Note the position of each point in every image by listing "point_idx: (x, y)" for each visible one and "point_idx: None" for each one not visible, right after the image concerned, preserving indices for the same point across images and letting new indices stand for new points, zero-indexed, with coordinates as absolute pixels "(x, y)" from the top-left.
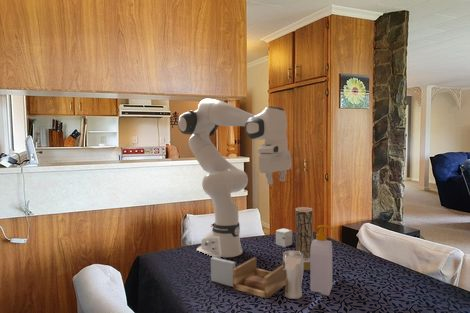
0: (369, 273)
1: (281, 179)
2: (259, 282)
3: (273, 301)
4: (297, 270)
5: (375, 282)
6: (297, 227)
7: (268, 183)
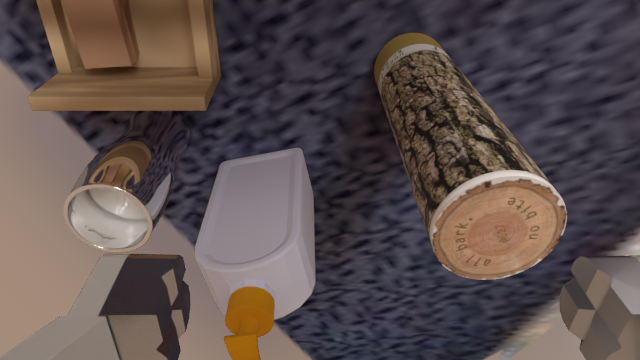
0: None
1: (591, 305)
2: (74, 35)
3: None
4: (106, 213)
5: (401, 270)
6: (415, 138)
7: (106, 268)
